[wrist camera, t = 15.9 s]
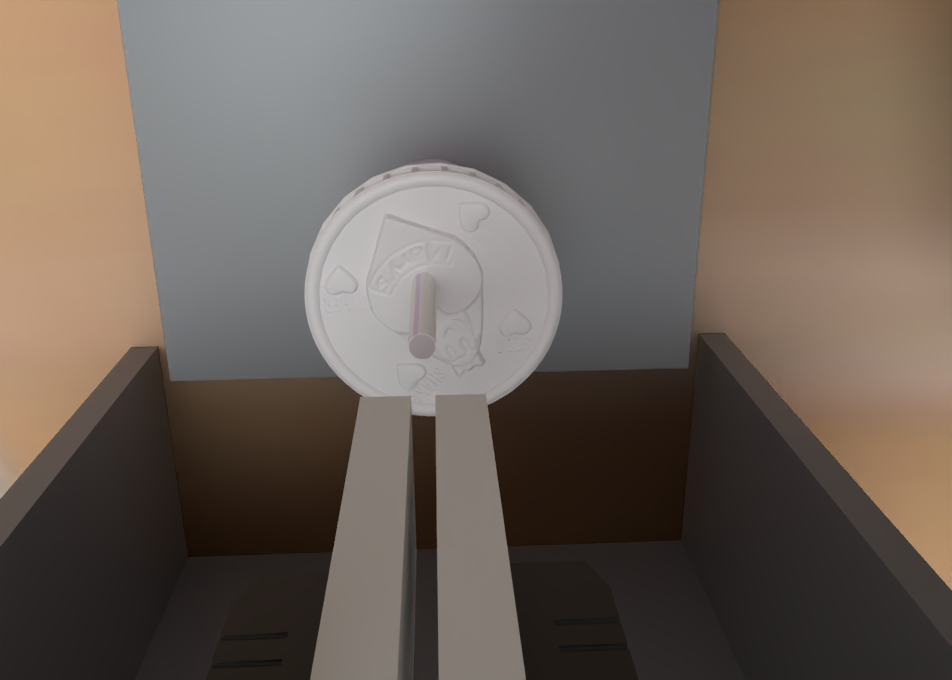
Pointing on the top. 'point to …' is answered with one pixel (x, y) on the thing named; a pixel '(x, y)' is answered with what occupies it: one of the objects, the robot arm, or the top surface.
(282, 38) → the sealer tray
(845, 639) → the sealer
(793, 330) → the top surface
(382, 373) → the smoothie
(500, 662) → the robot arm
